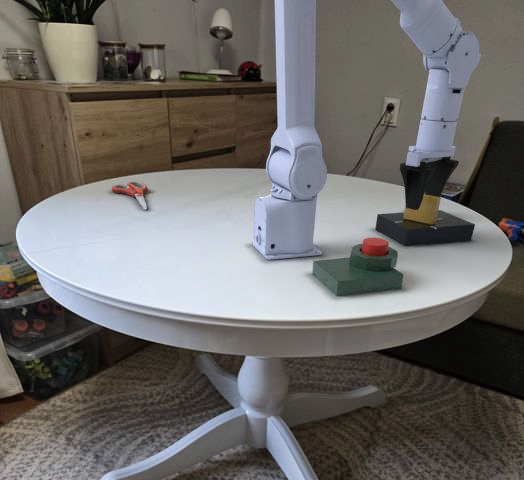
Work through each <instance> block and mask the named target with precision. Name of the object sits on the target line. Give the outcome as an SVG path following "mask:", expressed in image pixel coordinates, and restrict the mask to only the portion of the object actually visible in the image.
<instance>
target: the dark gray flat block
mask: <svg viewBox="0 0 524 480" xmlns="http://www.w3.org/2000/svg"><path fill="white" fill-rule="evenodd" d="M475 228H476V224H475V223H473V222H471V221H468V220H465V219H463V218H461V217H458V216H456V215H453V214H452V213H449V212H446V211H444V210H442V209H438V214H437V219H436V223H435V224H432V225H430V224H426V223H421V222H417V221H412V220H408V219H404V211H403V212H389V213H377V216H376V221H375V227H374V230H375V231H376V232H378V233H380V234H382V235H384V236H385V237H387V238H389V239H391V240H393V241H394V242H396V243H397V244H399V245H402V246H403V247H412V246H413V247H414V246H425V245H426V246H427V245H438V244H448V243H449V244H450V243H459V242H469V241H470V242H471V241H472V238H473V234H474V231H475Z"/></svg>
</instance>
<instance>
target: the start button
mask: <svg viewBox="0 0 524 480" xmlns="http://www.w3.org/2000/svg"><path fill="white" fill-rule="evenodd" d="M361 244H362V250H361V252H362V253H363V254H367V255H371V256H386V255H387V251H388V247H389V244H390V242H389V241H388V240H387V239H384V238H379V237H366V238H364V239H363V240H362V243H361Z"/></svg>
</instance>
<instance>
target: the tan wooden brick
mask: <svg viewBox="0 0 524 480" xmlns="http://www.w3.org/2000/svg"><path fill="white" fill-rule="evenodd" d="M441 200H442V197H441V196H440V197H436V196H431V195H425V194H424V196H423V200H422V203H421V205H420V207H419V209H418V210H413V209H409V208H406V206H405V205H404V210H405V212H404V211H403V212H404V219H408V220H412V221H417V222H421V223H426V224H430V225H432V224H435V223H436V219H437V214H438V210H440V205H441Z"/></svg>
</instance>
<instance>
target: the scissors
mask: <svg viewBox="0 0 524 480" xmlns="http://www.w3.org/2000/svg"><path fill="white" fill-rule="evenodd" d="M148 190H149V187H148V186H147V185H146V184H145V183H144V182H141V181H129V182H127V183H126V184H115V185H112V186H111V191H112V192H113V193H116V194H121V195H122V194H124V195H128V196H130V197H131V198H135V199H136V201H137V202H138V204H139V205H140V206H141V208H142V209H143V210H144V211H147V210H148V206H147V202H146V200H145V197H144V195H145V193H147V192H148Z"/></svg>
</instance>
